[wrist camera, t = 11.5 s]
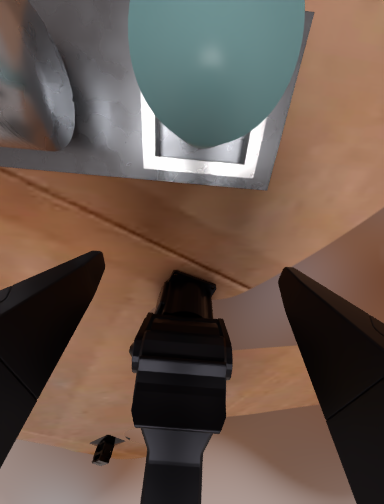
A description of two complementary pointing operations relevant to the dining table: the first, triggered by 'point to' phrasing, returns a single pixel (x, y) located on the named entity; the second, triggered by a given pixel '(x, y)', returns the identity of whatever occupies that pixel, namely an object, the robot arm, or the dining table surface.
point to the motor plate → (106, 103)
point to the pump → (214, 62)
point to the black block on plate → (105, 449)
